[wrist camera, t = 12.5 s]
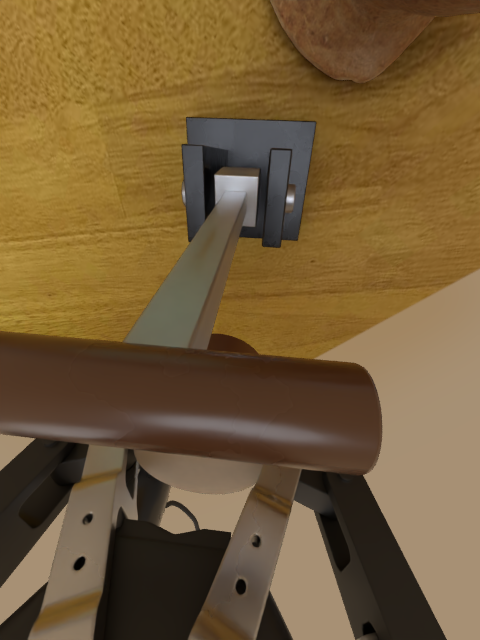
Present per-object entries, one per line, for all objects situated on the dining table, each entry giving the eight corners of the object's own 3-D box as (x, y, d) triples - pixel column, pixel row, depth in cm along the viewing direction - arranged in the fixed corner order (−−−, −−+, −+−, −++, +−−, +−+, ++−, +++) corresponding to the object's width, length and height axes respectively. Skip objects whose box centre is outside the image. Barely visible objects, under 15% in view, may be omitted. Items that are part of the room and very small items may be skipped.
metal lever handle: (346, 506, 4) (425, 415, 2) (-37, 459, 4) (-191, 352, 3) (288, 214, 16) (295, 169, 14) (193, 209, 16) (189, 164, 14)
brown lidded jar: (261, 405, 15) (259, 501, 11) (178, 396, 15) (145, 487, 11) (269, 337, 12) (270, 431, 8) (168, 329, 13) (119, 415, 8)
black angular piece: (296, 236, 23) (312, 282, 14) (196, 230, 23) (157, 271, 15) (313, 123, 18) (351, 95, 10) (190, 119, 19) (129, 89, 11)
